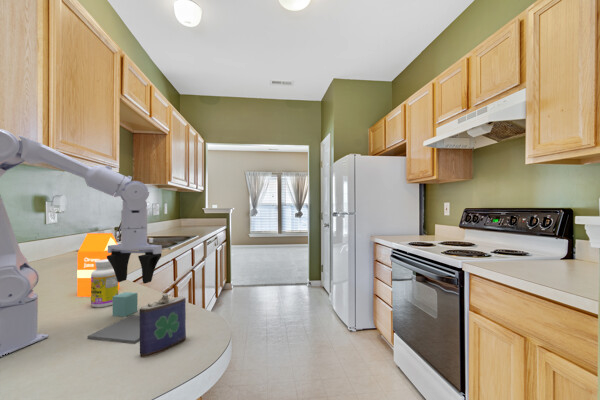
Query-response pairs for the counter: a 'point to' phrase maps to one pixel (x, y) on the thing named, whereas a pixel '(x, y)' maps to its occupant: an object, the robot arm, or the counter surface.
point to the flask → (162, 325)
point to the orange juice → (91, 259)
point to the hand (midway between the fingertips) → (134, 281)
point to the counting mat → (120, 331)
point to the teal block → (124, 304)
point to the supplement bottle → (103, 284)
